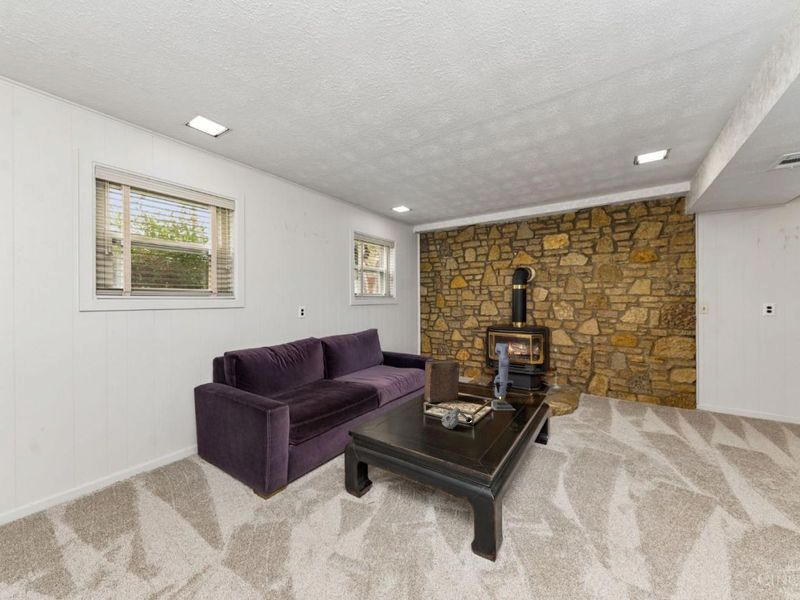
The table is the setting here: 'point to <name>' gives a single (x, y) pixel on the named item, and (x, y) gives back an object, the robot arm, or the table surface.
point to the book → (441, 381)
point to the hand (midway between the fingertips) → (503, 392)
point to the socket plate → (501, 407)
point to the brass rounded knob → (501, 400)
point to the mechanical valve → (453, 418)
